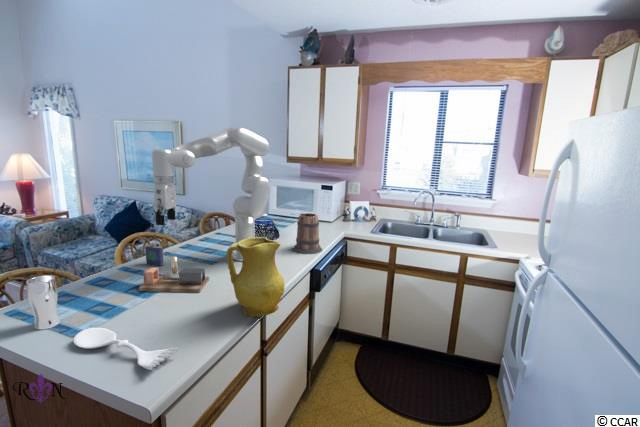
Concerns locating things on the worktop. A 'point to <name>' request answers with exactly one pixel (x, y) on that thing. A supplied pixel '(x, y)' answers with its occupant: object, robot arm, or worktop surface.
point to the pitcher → (256, 276)
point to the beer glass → (43, 301)
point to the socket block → (151, 275)
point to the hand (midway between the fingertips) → (166, 222)
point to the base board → (171, 286)
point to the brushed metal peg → (173, 271)
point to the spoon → (107, 337)
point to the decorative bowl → (266, 228)
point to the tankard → (307, 234)
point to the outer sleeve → (191, 276)
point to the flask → (154, 255)
